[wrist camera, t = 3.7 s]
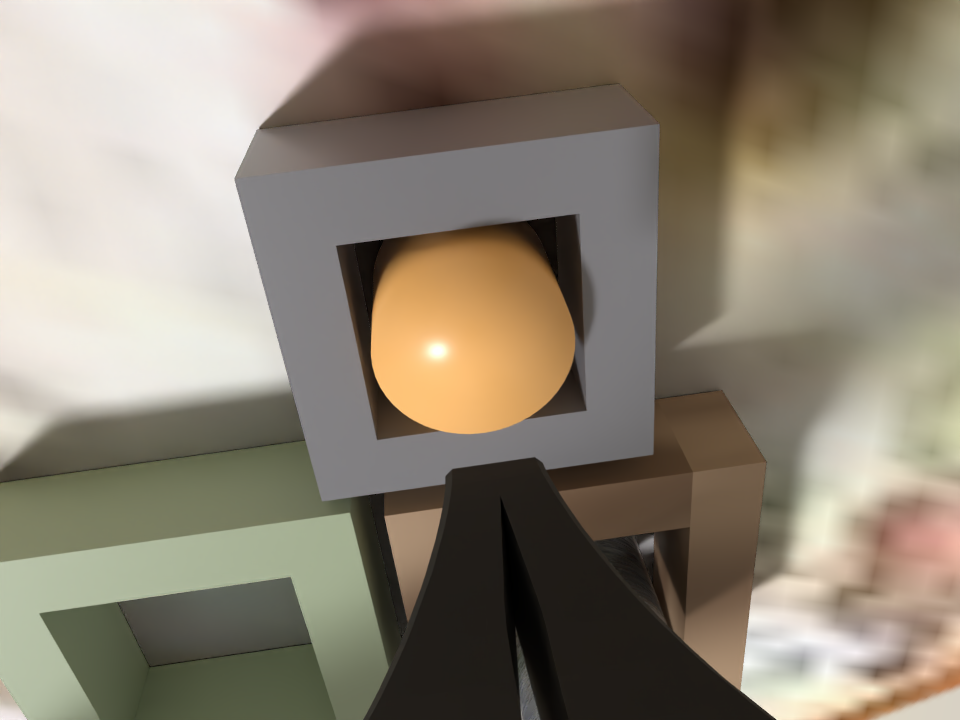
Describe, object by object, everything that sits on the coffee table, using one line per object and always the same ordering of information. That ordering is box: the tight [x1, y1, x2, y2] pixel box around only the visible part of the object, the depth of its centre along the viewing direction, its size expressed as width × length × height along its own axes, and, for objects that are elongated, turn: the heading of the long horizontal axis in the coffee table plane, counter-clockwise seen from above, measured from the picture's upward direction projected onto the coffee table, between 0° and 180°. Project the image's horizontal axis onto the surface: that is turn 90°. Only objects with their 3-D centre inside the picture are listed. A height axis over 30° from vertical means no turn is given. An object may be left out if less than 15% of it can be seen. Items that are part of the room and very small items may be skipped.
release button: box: [371, 221, 575, 434], centre depth 17 cm, size 4×4×3 cm
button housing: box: [235, 84, 660, 501], centre depth 18 cm, size 8×8×3 cm
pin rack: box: [0, 441, 402, 720], centre depth 22 cm, size 10×10×3 cm
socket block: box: [384, 390, 767, 690], centre depth 23 cm, size 9×9×3 cm
